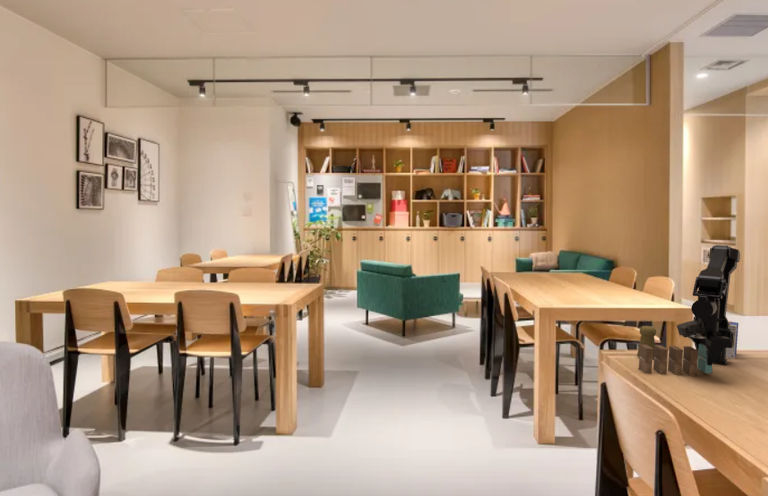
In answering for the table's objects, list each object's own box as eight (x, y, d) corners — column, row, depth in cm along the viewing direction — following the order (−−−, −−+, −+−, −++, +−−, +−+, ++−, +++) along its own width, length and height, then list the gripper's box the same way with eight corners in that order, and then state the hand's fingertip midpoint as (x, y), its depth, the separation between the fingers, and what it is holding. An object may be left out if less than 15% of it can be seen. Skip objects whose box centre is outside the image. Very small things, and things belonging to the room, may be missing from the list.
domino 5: (703, 368, 168) (705, 344, 167) (712, 373, 163) (713, 348, 162) (697, 368, 168) (698, 343, 168) (705, 373, 163) (706, 347, 163)
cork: (645, 360, 180) (646, 328, 179) (632, 355, 186) (634, 324, 185) (660, 359, 181) (661, 328, 180) (647, 354, 187) (649, 324, 186)
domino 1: (645, 368, 170) (646, 344, 169) (651, 373, 165) (653, 348, 164) (638, 368, 170) (640, 344, 169) (644, 373, 165) (646, 348, 164)
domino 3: (674, 370, 169) (675, 345, 168) (681, 375, 164) (683, 350, 163) (667, 369, 169) (669, 345, 169) (674, 374, 164) (676, 349, 164)
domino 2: (659, 369, 169) (661, 345, 169) (666, 374, 164) (668, 349, 164) (653, 369, 170) (654, 345, 169) (659, 374, 165) (661, 349, 164)
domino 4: (689, 370, 169) (690, 346, 168) (696, 375, 164) (698, 350, 163) (682, 370, 169) (683, 346, 168) (689, 375, 164) (691, 350, 163)
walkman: (727, 352, 191) (729, 320, 190) (736, 354, 190) (738, 321, 189) (724, 357, 185) (726, 323, 184) (733, 358, 184) (736, 325, 183)
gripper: (668, 307, 174) (665, 353, 176) (696, 319, 156) (692, 370, 157) (703, 308, 173) (700, 355, 174) (735, 320, 155) (732, 372, 156)
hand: (705, 362), depth 165 cm, fingers closed on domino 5, 5 cm apart
